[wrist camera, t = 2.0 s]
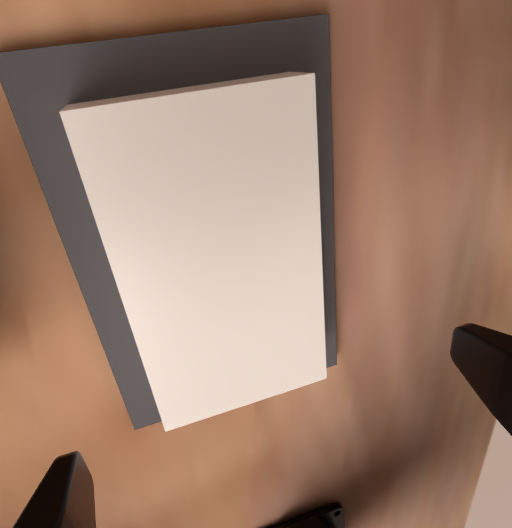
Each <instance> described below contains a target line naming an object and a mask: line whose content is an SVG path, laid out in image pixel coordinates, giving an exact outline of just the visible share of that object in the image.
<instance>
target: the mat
mask: <svg viewBox="0 0 512 528" xmlns="http://www.w3.org/2000/svg"><path fill="white" fill-rule="evenodd" d="M284 72H304V73H315V88H316V114H317V140H318V166H319V192H320V218H321V243H322V269H323V295H324V321H325V347H326V368H327V367H331V366H334V365H337V347H336V301H335V255H334V208H333V162H332V116H331V69H330V23H329V14H323V15H315V16H306V17H298V18H289V19H281V20H272V21H264V22H255V23H247V24H238V25H230V26H221V27H213V28H204V29H196V30H187V31H179V32H170V33H162V34H153V35H145V36H136V37H128V38H120V39H111V40H103V41H94V42H86V43H77V44H69V45H60V46H52V47H43V48H35V49H26V50H18V51H9V52H1V53H0V82H1V84H2V87H3V89H4V92H5V95H6V97H7V100H8V102H9V105H10V108H11V110H12V113H13V115H14V118H15V120H16V123H17V126H18V128H19V131H20V133H21V136H22V139H23V141H24V144H25V146H26V149H27V152H28V154H29V157H30V159H31V162H32V165H33V167H34V170H35V172H36V175H37V177H38V180H39V183H40V185H41V188H42V190H43V193H44V196H45V198H46V201H47V203H48V206H49V209H50V211H51V214H52V216H53V219H54V222H55V224H56V227H57V229H58V232H59V234H60V237H61V240H62V242H63V245H64V247H65V250H66V253H67V255H68V258H69V260H70V263H71V266H72V268H73V271H74V273H75V276H76V279H77V281H78V284H79V286H80V289H81V292H82V294H83V297H84V299H85V302H86V304H87V307H88V310H89V312H90V315H91V317H92V320H93V323H94V325H95V328H96V330H97V333H98V336H99V338H100V341H101V343H102V346H103V349H104V351H105V354H106V356H107V359H108V361H109V364H110V367H111V369H112V372H113V374H114V377H115V380H116V382H117V385H118V387H119V390H120V393H121V395H122V398H123V400H124V403H125V406H126V408H127V411H128V413H129V416H130V419H131V421H132V424H133V426H134V429H135V430H136V429H139V428H142V427H145V426H148V425H151V424H155V423H158V422H161V421H162V420H161V417H160V414H159V411H158V408H157V405H156V402H155V399H154V396H153V393H152V390H151V387H150V384H149V381H148V378H147V374H146V371H145V368H144V365H143V362H142V359H141V356H140V353H139V350H138V347H137V344H136V341H135V338H134V335H133V332H132V329H131V326H130V323H129V320H128V317H127V314H126V311H125V308H124V305H123V302H122V299H121V296H120V293H119V290H118V287H117V284H116V281H115V278H114V275H113V272H112V269H111V266H110V263H109V260H108V257H107V254H106V251H105V248H104V245H103V242H102V239H101V236H100V233H99V230H98V227H97V224H96V221H95V218H94V215H93V212H92V209H91V206H90V203H89V200H88V197H87V194H86V191H85V188H84V185H83V182H82V179H81V176H80V173H79V170H78V167H77V164H76V161H75V158H74V155H73V152H72V149H71V146H70V143H69V140H68V137H67V134H66V131H65V128H64V125H63V122H62V119H61V116H60V113H59V112H60V111H61V110H62V109H63V108H64V107H65V106H66V105H68V104H75V103H82V102H88V101H95V100H102V99H109V98H115V97H122V96H129V95H136V94H142V93H149V92H156V91H163V90H169V89H176V88H183V87H190V86H196V85H203V84H210V83H217V82H223V81H230V80H237V79H244V78H250V77H257V76H264V75H271V74H277V73H284Z"/></svg>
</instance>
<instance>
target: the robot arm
mask: <svg viewBox="0 0 512 528" xmlns="http://www.w3.org/2000/svg"><path fill="white" fill-rule="evenodd" d="M450 355H451V358H452V360H453V362H454V364H455V365H456V366H457V368H458V369H459V370H460V372H461V373H462V374H463V376H464V377H465V378H466V380H467V381H468V382H469V384H470V385H471V386H472V388H473V389H474V391H475V392H476V393H477V395H478V396H479V397H480V399H481V400H482V401H483V403H484V404H485V405H486V407H487V408H488V409H489V410H490V412H491V413H492V414H493V415H494V416H495V418H496V419H497V420H498V421H499V422H500V423H501V425H502V426H503V427H504V428H505V429H506V430H507V431H508V432H509V433H510V435H511V436H512V336H511V335H508V334H505V333H502V332H498V331H495V330H492V329H489V328H486V327H482V326H479V325H476V324H472V323H468V324H465V325H461V326H458V327H456V328H455V329H454V331H453V337H452V343H451V350H450ZM13 528H96V520H95V501H94V485H93V479H92V476H91V474H90V472H89V470H88V468H87V466H86V464H85V462H84V460H83V458H82V456H81V454H80V453H79V452H78V451H74V452H71V453H68V454H65V455H62V456H59V457H57V458H56V459H55V460H54V462H53V463H52V465H51V466H50V468H49V470H48V471H47V473H46V474H45V476H44V478H43V479H42V481H41V483H40V484H39V486H38V487H37V489H36V491H35V492H34V494H33V496H32V497H31V499H30V500H29V502H28V504H27V505H26V507H25V509H24V510H23V512H22V513H21V515H20V517H19V518H18V520H17V522H16V523H15V525H14V526H13ZM274 528H344V509H343V507H342V505H341V503H338V502H337V503H334V504H331V505H329V506H326V507H324V508H321V509H319V510H316V511H314V512H311V513H309V514H306V515H304V516H301V517H299V518H296V519H294V520H292V521H289V522H287V523H284V524H282V525H279V526H277V527H274Z"/></svg>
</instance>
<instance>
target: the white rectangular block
mask: <svg viewBox="0 0 512 528" xmlns="http://www.w3.org/2000/svg"><path fill="white" fill-rule="evenodd" d="M59 113H60V116H61V119H62V122H63V125H64V128H65V131H66V134H67V137H68V140H69V143H70V146H71V149H72V152H73V155H74V158H75V161H76V164H77V167H78V170H79V173H80V176H81V179H82V182H83V185H84V188H85V191H86V194H87V197H88V200H89V203H90V206H91V209H92V212H93V215H94V218H95V221H96V224H97V227H98V230H99V233H100V236H101V239H102V242H103V245H104V248H105V251H106V254H107V257H108V260H109V263H110V266H111V269H112V272H113V275H114V278H115V281H116V284H117V287H118V290H119V293H120V296H121V299H122V302H123V305H124V308H125V311H126V314H127V317H128V320H129V323H130V326H131V329H132V332H133V335H134V338H135V341H136V344H137V347H138V350H139V353H140V356H141V359H142V362H143V365H144V368H145V371H146V374H147V378H148V381H149V384H150V387H151V390H152V393H153V396H154V399H155V402H156V405H157V408H158V411H159V414H160V417H161V420H162V423H163V426H164V429H165V432H166V431H169V430H172V429H175V428H178V427H181V426H184V425H187V424H190V423H193V422H196V421H199V420H202V419H205V418H208V417H211V416H214V415H217V414H221V413H224V412H227V411H230V410H233V409H236V408H239V407H242V406H245V405H248V404H251V403H254V402H257V401H260V400H263V399H266V398H269V397H272V396H275V395H278V394H281V393H284V392H287V391H290V390H293V389H296V388H299V387H302V386H305V385H308V384H311V383H314V382H317V381H321V380H324V379H327V373H326V347H325V321H324V295H323V269H322V243H321V218H320V192H319V166H318V140H317V114H316V88H315V73H304V72H284V73H277V74H271V75H264V76H257V77H250V78H244V79H237V80H230V81H223V82H217V83H210V84H203V85H196V86H190V87H183V88H176V89H169V90H163V91H156V92H149V93H142V94H136V95H129V96H122V97H115V98H109V99H102V100H95V101H88V102H82V103H75V104H68V105H66V106H65V107H64V108H63V109H62V110H61V111H60V112H59Z"/></svg>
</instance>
